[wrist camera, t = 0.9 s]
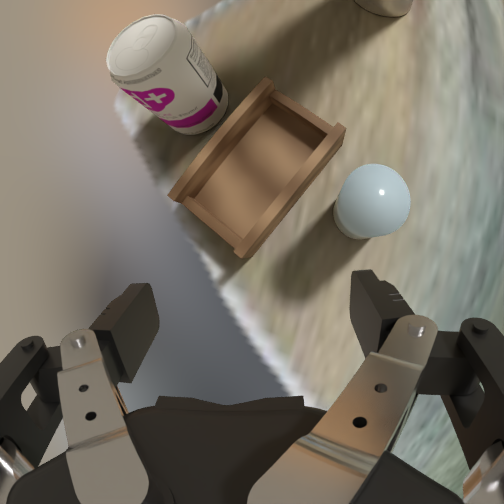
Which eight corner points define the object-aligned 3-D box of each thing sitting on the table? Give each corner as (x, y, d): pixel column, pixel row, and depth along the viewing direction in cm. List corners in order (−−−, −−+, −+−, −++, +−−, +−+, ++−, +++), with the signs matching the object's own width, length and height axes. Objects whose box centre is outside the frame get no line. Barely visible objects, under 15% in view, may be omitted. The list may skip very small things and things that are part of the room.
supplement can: (211, 145, 35) (150, 89, 20) (158, 126, 36) (86, 76, 22) (241, 89, 34) (200, 12, 20) (186, 74, 36) (131, 9, 21)
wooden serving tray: (272, 97, 34) (265, 76, 28) (342, 145, 32) (346, 128, 27) (186, 202, 36) (167, 195, 31) (252, 256, 34) (241, 258, 29)
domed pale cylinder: (353, 177, 32) (368, 150, 22) (393, 210, 31) (422, 195, 21) (322, 216, 33) (326, 203, 23) (362, 250, 32) (382, 251, 22)
